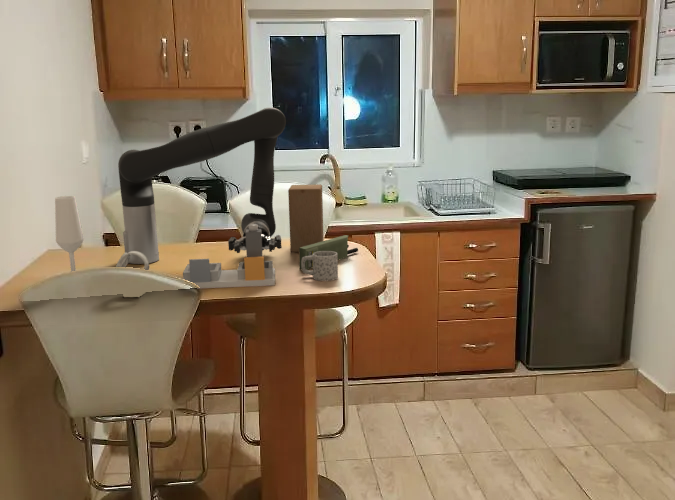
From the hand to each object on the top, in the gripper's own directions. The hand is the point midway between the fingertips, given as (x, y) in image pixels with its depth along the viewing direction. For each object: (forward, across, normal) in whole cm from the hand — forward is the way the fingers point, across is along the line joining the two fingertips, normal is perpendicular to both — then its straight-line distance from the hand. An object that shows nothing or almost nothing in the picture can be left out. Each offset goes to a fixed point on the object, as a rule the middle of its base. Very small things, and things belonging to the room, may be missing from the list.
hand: (254, 248), depth 177 cm
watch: (+7, -30, +9) cm, 32 cm away
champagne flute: (-1, -47, +9) cm, 48 cm away
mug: (-2, +17, +9) cm, 19 cm away
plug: (-2, 0, +8) cm, 8 cm away
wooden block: (-37, +15, +9) cm, 41 cm away
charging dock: (-2, -7, +9) cm, 12 cm away
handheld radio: (-20, +21, +10) cm, 31 cm away
